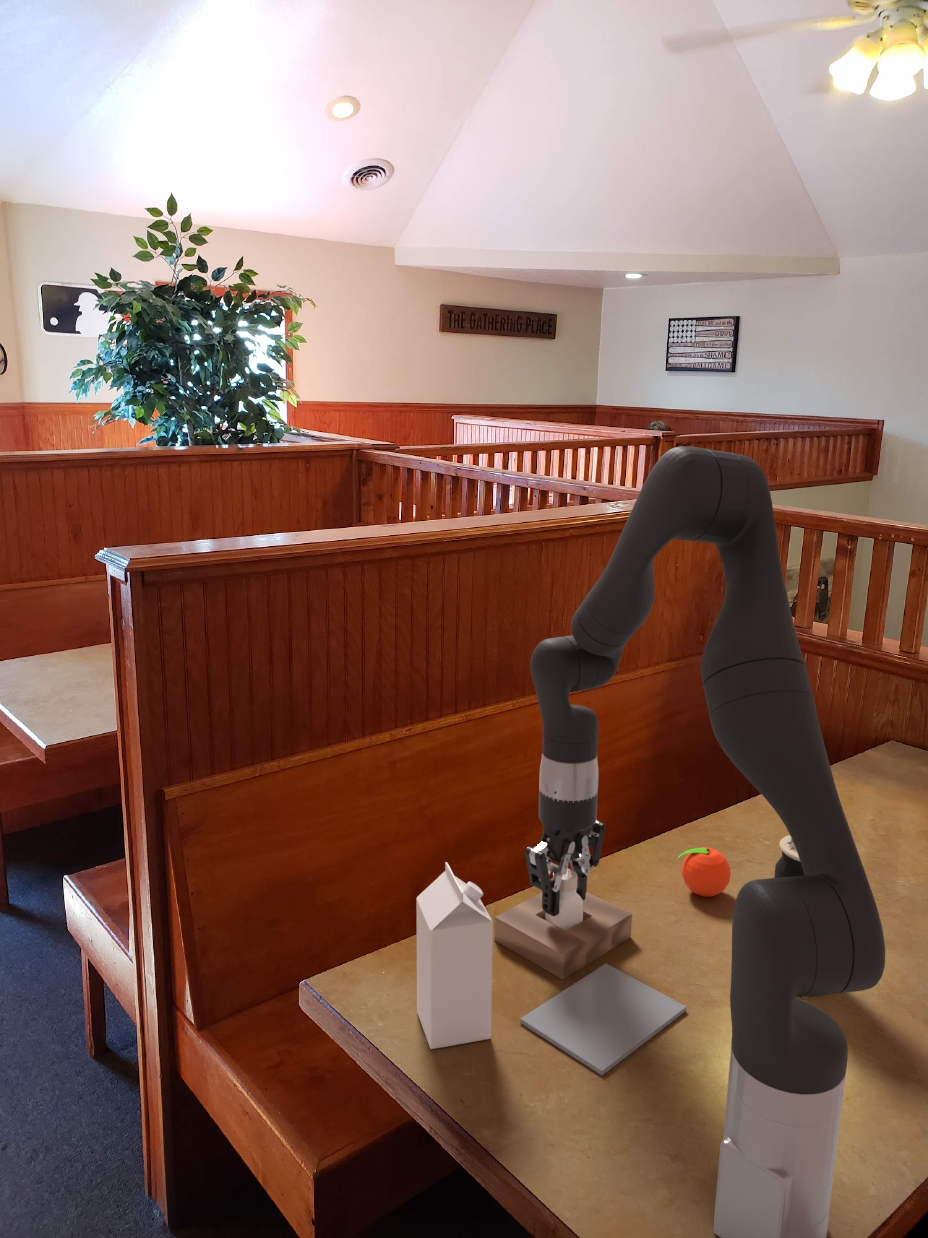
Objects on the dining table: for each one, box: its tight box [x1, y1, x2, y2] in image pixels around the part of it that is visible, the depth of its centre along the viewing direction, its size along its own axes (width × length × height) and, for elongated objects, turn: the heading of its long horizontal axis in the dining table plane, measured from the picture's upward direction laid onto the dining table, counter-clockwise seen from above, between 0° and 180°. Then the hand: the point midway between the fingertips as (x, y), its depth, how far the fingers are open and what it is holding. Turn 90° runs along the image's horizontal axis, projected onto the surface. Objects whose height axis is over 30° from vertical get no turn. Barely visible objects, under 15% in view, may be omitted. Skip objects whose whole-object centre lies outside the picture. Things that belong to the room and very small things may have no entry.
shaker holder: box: [494, 891, 633, 981], centre depth 128 cm, size 14×12×4 cm
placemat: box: [519, 963, 687, 1076], centre depth 112 cm, size 16×12×1 cm
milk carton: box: [416, 861, 494, 1050], centre depth 108 cm, size 7×7×19 cm
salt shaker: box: [545, 868, 583, 931], centre depth 127 cm, size 4×4×10 cm
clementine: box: [674, 846, 732, 898], centre depth 139 cm, size 8×7×7 cm
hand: (564, 905), depth 127 cm, fingers closed on salt shaker, 4 cm apart
